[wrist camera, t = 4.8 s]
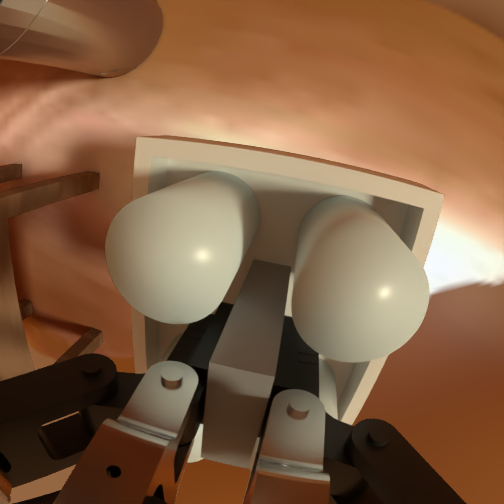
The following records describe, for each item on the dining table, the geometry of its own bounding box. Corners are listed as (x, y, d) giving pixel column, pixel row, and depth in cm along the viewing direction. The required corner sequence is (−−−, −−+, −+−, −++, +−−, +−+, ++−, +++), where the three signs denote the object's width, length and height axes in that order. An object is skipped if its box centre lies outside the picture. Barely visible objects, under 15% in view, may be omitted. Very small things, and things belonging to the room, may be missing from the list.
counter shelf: (14, 163, 29) (-76, 185, 17) (99, 173, 28) (-9, 200, 15) (26, 308, 36) (-39, 357, 24) (103, 342, 35) (38, 412, 22)
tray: (167, 135, 12) (39, 146, 5) (419, 183, 11) (525, 238, 4) (157, 370, 16) (98, 467, 10) (338, 409, 15) (339, 524, 9)
